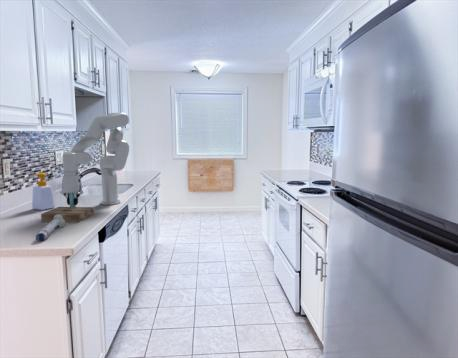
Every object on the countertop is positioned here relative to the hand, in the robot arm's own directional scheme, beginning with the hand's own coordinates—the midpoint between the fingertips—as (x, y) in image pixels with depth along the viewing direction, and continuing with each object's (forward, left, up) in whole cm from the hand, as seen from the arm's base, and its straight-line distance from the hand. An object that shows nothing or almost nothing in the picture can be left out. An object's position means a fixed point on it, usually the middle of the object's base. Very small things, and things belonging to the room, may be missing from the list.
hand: (72, 204), depth 189 cm
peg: (0, 0, -4) cm, 4 cm away
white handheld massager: (+41, +11, -5) cm, 43 cm away
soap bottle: (-4, -22, -4) cm, 23 cm away
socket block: (+14, +5, -4) cm, 16 cm away
